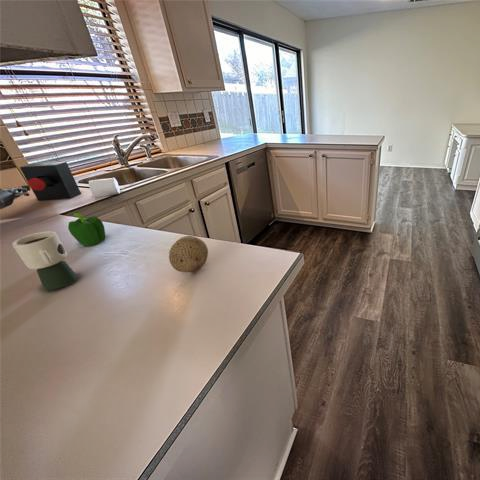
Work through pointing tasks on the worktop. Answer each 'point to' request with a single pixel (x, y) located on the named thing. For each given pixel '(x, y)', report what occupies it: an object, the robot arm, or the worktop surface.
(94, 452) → the worktop surface
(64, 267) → the character mug
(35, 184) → the knob
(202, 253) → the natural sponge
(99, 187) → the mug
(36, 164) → the control box
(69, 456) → the worktop surface
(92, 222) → the bell pepper
